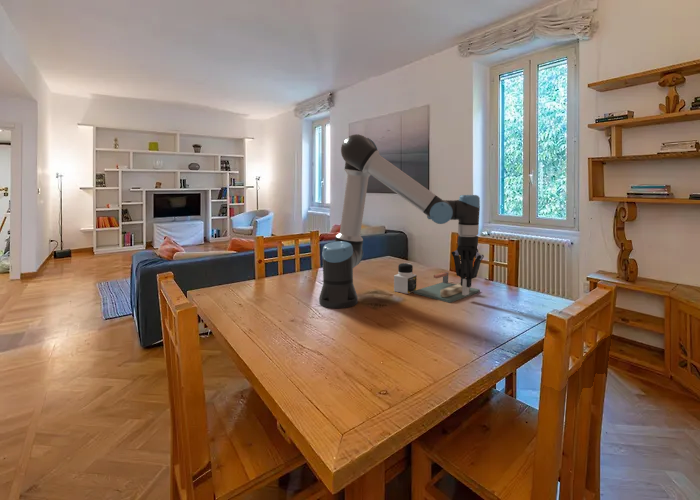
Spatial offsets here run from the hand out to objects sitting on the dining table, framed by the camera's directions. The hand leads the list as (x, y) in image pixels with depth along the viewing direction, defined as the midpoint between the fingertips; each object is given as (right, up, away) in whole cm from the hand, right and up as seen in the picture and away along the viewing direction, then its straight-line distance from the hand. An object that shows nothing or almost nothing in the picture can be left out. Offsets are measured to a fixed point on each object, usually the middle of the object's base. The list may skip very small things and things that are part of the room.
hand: (465, 294), depth 151 cm
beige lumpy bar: (-2, 0, +7) cm, 7 cm away
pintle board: (-5, 0, +12) cm, 12 cm away
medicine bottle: (-22, 0, +15) cm, 26 cm away
